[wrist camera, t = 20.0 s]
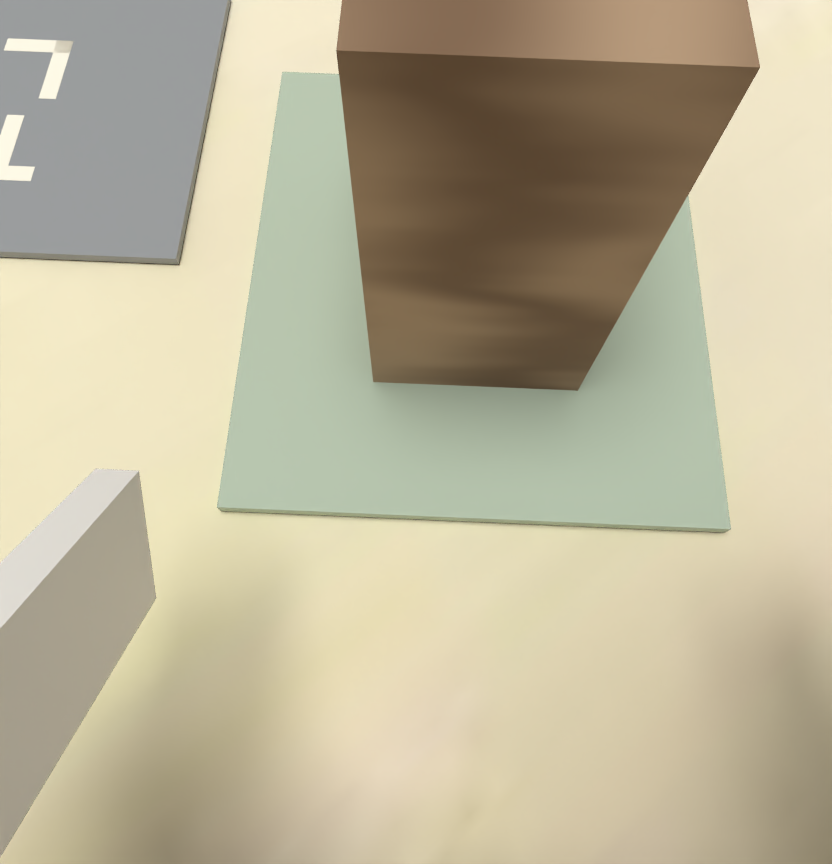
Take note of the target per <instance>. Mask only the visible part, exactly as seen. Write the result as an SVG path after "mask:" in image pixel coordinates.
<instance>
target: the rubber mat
mask: <svg viewBox="0 0 832 864" xmlns="http://www.w3.org/2000/svg"><path fill="white" fill-rule="evenodd" d="M217 508H218V509H219V510H220V511H236V512H259V513H282V514H306V515H329V516H352V517H376V518H399V519H423V520H446V521H469V522H493V523H516V524H539V525H563V526H586V527H609V528H633V529H656V530H679V531H703V532H726V531H728V530H730V529H731V525H730V518H729V510H728V502H727V494H726V486H725V479H724V471H723V463H722V455H721V447H720V440H719V432H718V424H717V416H716V408H715V400H714V393H713V385H712V377H711V369H710V361H709V354H708V346H707V338H706V330H705V322H704V315H703V307H702V299H701V291H700V283H699V275H698V268H697V260H696V252H695V244H694V236H693V229H692V221H691V213H690V205H689V197H688V196H687V198H686V200H685V201H684V203H683V205H682V207H681V208H680V210H679V212H678V214H677V216H676V217H675V219H674V221H673V223H672V224H671V226H670V228H669V230H668V231H667V233H666V235H665V237H664V239H663V240H662V242H661V244H660V246H659V247H658V249H657V251H656V253H655V255H654V256H653V258H652V260H651V262H650V263H649V265H648V267H647V269H646V270H645V272H644V274H643V276H642V278H641V279H640V281H639V283H638V285H637V286H636V288H635V290H634V292H633V294H632V295H631V297H630V299H629V301H628V302H627V304H626V306H625V308H624V309H623V311H622V313H621V315H620V317H619V318H618V320H617V322H616V324H615V325H614V327H613V329H612V331H611V333H610V334H609V336H608V338H607V340H606V341H605V343H604V345H603V347H602V349H601V350H600V352H599V354H598V356H597V357H596V359H595V361H594V363H593V364H592V366H591V368H590V370H589V372H588V373H587V375H586V377H585V379H584V380H583V382H582V384H581V386H580V388H579V389H578V391H575V390H551V389H527V388H503V387H480V386H456V385H432V384H408V383H385V382H373V376H372V367H371V358H370V349H369V340H368V331H367V322H366V313H365V304H364V295H363V285H362V276H361V267H360V258H359V249H358V240H357V231H356V222H355V213H354V204H353V195H352V186H351V177H350V168H349V159H348V150H347V141H346V132H345V123H344V114H343V105H342V96H341V87H340V78H339V74H324V73H299V72H282V78H281V85H280V91H279V98H278V105H277V111H276V118H275V125H274V131H273V138H272V145H271V151H270V158H269V165H268V171H267V178H266V185H265V191H264V198H263V205H262V211H261V218H260V224H259V231H258V238H257V244H256V251H255V258H254V264H253V271H252V278H251V284H250V291H249V298H248V304H247V311H246V318H245V324H244V331H243V337H242V344H241V351H240V357H239V364H238V371H237V377H236V384H235V391H234V397H233V404H232V411H231V417H230V424H229V431H228V437H227V444H226V450H225V457H224V464H223V470H222V477H221V484H220V490H219V497H218V504H217Z"/></svg>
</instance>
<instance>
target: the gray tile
mask: <svg viewBox="0 0 832 864" xmlns="http://www.w3.org/2000/svg"><path fill="white" fill-rule="evenodd" d="M230 3H231V0H0V257H12V258H36V259H60V260H84V261H108V262H132V263H156V264H179V261H180V256H181V251H182V246H183V241H184V236H185V231H186V226H187V221H188V216H189V211H190V206H191V201H192V196H193V191H194V185H195V180H196V175H197V170H198V165H199V160H200V155H201V150H202V145H203V140H204V135H205V130H206V125H207V120H208V114H209V109H210V104H211V99H212V94H213V89H214V84H215V79H216V74H217V69H218V64H219V59H220V54H221V49H222V43H223V38H224V33H225V28H226V23H227V18H228V13H229V8H230Z"/></svg>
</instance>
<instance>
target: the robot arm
mask: <svg viewBox="0 0 832 864" xmlns="http://www.w3.org/2000/svg"><path fill="white" fill-rule="evenodd" d="M155 599H156V593H155V585H154V578H153V571H152V563H151V556H150V549H149V542H148V534H147V527H146V520H145V512H144V505H143V498H142V490H141V483H140V476H139V471H132V470H112V469H95V470H94V471H93V472H92V473H91V474H90V475H89V476H88V477H87V478H86V479H85V480H84V481H83V482H82V483H81V484H80V485H79V486H78V487H76V488H75V489H74V490H73V491H72V492H71V493H70V494H69V495H68V496H67V497H66V498H65V499H64V500H63V501H62V502H61V503H60V504H59V505H58V506H57V507H56V508H55V509H54V510H53V511H52V512H51V513H50V514H49V515H48V516H47V517H46V518H45V519H44V520H43V521H42V522H41V523H40V524H39V525H38V526H37V527H36V528H35V529H34V530H33V531H32V532H31V533H30V534H29V535H28V536H27V537H26V538H25V539H24V540H23V541H22V542H21V543H20V544H19V545H18V546H17V547H16V548H15V549H14V550H13V551H12V552H11V553H10V554H9V555H8V556H7V557H6V558H5V559H4V560H3V561H2V562H1V563H0V857H1V855H2V854H3V852H4V850H5V849H6V847H7V845H8V844H9V842H10V840H11V839H12V837H13V835H14V834H15V832H16V830H17V829H18V827H19V825H20V824H21V822H22V820H23V819H24V817H25V815H26V814H27V812H28V810H29V809H30V807H31V805H32V804H33V802H34V800H35V799H36V797H37V795H38V794H39V792H40V790H41V789H42V787H43V785H44V784H45V782H46V780H47V779H48V777H49V775H50V774H51V772H52V771H53V769H54V767H55V766H56V764H57V762H58V761H59V759H60V757H61V756H62V754H63V752H64V751H65V749H66V747H67V746H68V744H69V742H70V741H71V739H72V737H73V736H74V734H75V732H76V731H77V729H78V727H79V726H80V724H81V722H82V721H83V719H84V717H85V716H86V714H87V712H88V711H89V709H90V707H91V706H92V704H93V702H94V701H95V699H96V697H97V696H98V694H99V692H100V691H101V689H102V687H103V686H104V684H105V682H106V681H107V679H108V677H109V676H110V674H111V672H112V671H113V669H114V667H115V666H116V664H117V662H118V661H119V659H120V657H121V656H122V654H123V652H124V651H125V649H126V647H127V646H128V644H129V643H130V641H131V639H132V638H133V636H134V634H135V633H136V631H137V629H138V628H139V626H140V624H141V623H142V621H143V619H144V618H145V616H146V614H147V613H148V611H149V609H150V608H151V606H152V604H153V603H154V601H155Z"/></svg>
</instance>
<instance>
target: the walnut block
mask: <svg viewBox="0 0 832 864" xmlns="http://www.w3.org/2000/svg"><path fill="white" fill-rule="evenodd" d="M336 51H337V60H338V69H339V78H340V87H341V96H342V105H343V114H344V123H345V132H346V141H347V150H348V159H349V168H350V177H351V186H352V195H353V204H354V213H355V222H356V231H357V240H358V249H359V258H360V267H361V276H362V285H363V295H364V304H365V313H366V322H367V331H368V340H369V349H370V358H371V367H372V376H373V382H385V383H408V384H432V385H456V386H480V387H503V388H527V389H551V390H575V391H578V389H579V388H580V386H581V384H582V382H583V380H584V379H585V377H586V375H587V373H588V372H589V370H590V368H591V366H592V364H593V363H594V361H595V359H596V357H597V356H598V354H599V352H600V350H601V349H602V347H603V345H604V343H605V341H606V340H607V338H608V336H609V334H610V333H611V331H612V329H613V327H614V325H615V324H616V322H617V320H618V318H619V317H620V315H621V313H622V311H623V309H624V308H625V306H626V304H627V302H628V301H629V299H630V297H631V295H632V294H633V292H634V290H635V288H636V286H637V285H638V283H639V281H640V279H641V278H642V276H643V274H644V272H645V270H646V269H647V267H648V265H649V263H650V262H651V260H652V258H653V256H654V255H655V253H656V251H657V249H658V247H659V246H660V244H661V242H662V240H663V239H664V237H665V235H666V233H667V231H668V230H669V228H670V226H671V224H672V223H673V221H674V219H675V217H676V216H677V214H678V212H679V210H680V208H681V207H682V205H683V203H684V201H685V200H686V198H687V196H688V194H689V192H690V191H691V189H692V187H693V185H694V184H695V182H696V180H697V178H698V176H699V175H700V173H701V171H702V169H703V168H704V166H705V164H706V162H707V161H708V159H709V157H710V155H711V153H712V152H713V150H714V148H715V146H716V145H717V143H718V141H719V139H720V137H721V136H722V134H723V132H724V130H725V129H726V127H727V125H728V123H729V122H730V120H731V118H732V116H733V114H734V113H735V111H736V109H737V107H738V106H739V104H740V102H741V100H742V98H743V97H744V95H745V93H746V91H747V90H748V88H749V86H750V84H751V83H752V81H753V79H754V77H755V75H756V74H757V72H758V70H759V68H760V65H759V59H758V54H757V49H756V44H755V38H754V33H753V28H752V23H751V18H750V12H749V7H748V2H747V0H342V6H341V15H340V24H339V33H338V41H337V50H336Z"/></svg>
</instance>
